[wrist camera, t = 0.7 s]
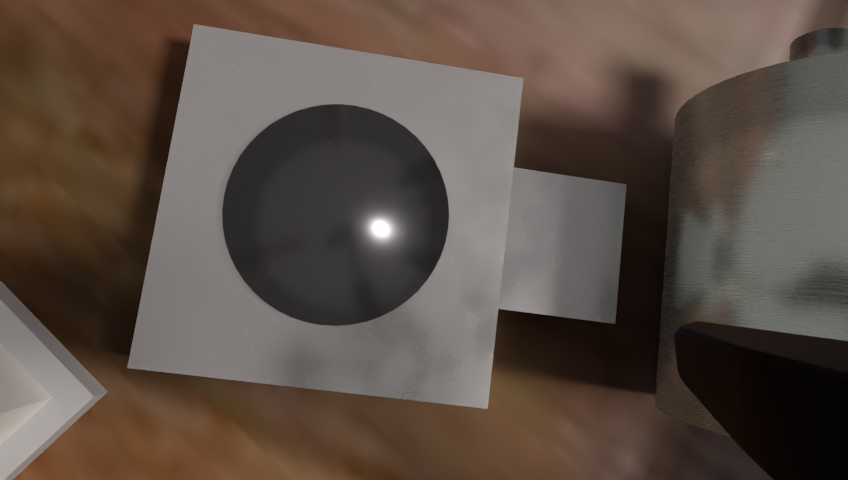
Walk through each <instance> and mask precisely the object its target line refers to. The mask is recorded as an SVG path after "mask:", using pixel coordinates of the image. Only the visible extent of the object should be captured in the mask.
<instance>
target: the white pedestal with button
mask: <svg viewBox="0 0 848 480" xmlns="http://www.w3.org/2000/svg"><path fill="white" fill-rule="evenodd" d="M107 392H108V391H107V390H106V389H105V388H104V387H103V386H102V385H101V384H100V383H99V382H98V381H97V380H96V379H95V378H94V377H93V376H92V375H91V374H90V373H89V372H88V371H87V370H86V369H85V368H84V367H83V366H82V365H81V363H80V362H79V361H78V360H77V359H76V358H75V357H74V356H73V355H72V354H71V353H70V352H69V351H68V350H67V349H66V348H65V347H64V346H63V345H62V344H61V343H60V342H59V341H58V340H57V339H56V338H55V336H54V335H53V334H52V333H51V332H50V331H49V330H48V329H47V328H46V327H45V326H44V325H43V324H42V323H41V322H40V321H39V320H38V319H37V318H36V317H35V316H34V315H33V314H32V313H31V312H30V311H29V309H28V308H27V307H26V306H25V305H24V304H23V303H22V302H21V301H20V300H19V299H18V298H17V297H16V296H15V295H14V294H13V293H12V292H11V291H10V290H9V289H8V288H7V287H6V286H5V285H4V284H3V283H2V282H0V480H13V479H14V478H15V477H16V476H17V475H18V474H19V473H20V472H21V471H23V470H24V469H25V468H26V467H27V466H28V465H29V464H30V463H31V462H32V461H33V460H34V459H36V458H37V457H38V456H39V455H40V454H41V453H42V452H43V451H44V450H45V449H46V448H47V447H49V446H50V445H51V444H52V443H53V442H54V441H55V440H56V439H57V438H58V437H59V436H60V435H62V434H63V433H64V432H65V431H66V430H67V429H68V428H69V427H70V426H71V425H72V424H73V423H75V422H76V421H77V420H78V419H79V418H80V417H81V416H82V415H83V414H84V413H85V412H86V411H88V410H89V409H90V408H91V407H92V406H93V405H94V404H95V403H96V402H97V401H98V400H99V399H101V398H102V397H103V396H104V395H105V394H106V393H107Z"/></svg>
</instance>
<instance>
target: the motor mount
mask: <svg viewBox="0 0 848 480" xmlns="http://www.w3.org/2000/svg"><path fill="white" fill-rule="evenodd" d="M522 87H523V78H519V77H513V76H507V75H500V74H494V73H488V72H482V71H476V70H470V69H464V68H458V67H452V66H446V65H439V64H433V63H427V62H421V61H415V60H409V59H403V58H397V57H391V56H385V55H379V54H372V53H366V52H360V51H354V50H348V49H342V48H336V47H330V46H324V45H318V44H311V43H305V42H299V41H293V40H287V39H281V38H275V37H269V36H263V35H257V34H250V33H244V32H238V31H232V30H226V29H220V28H214V27H208V26H202V25H196V24H194V27H193V32H192V37H191V42H190V47H189V52H188V58H187V63H186V68H185V73H184V78H183V83H182V88H181V94H180V99H179V104H178V109H177V114H176V119H175V125H174V130H173V135H172V140H171V145H170V150H169V155H168V161H167V166H166V171H165V176H164V181H163V186H162V192H161V197H160V202H159V207H158V212H157V217H156V222H155V228H154V233H153V238H152V243H151V248H150V253H149V259H148V264H147V269H146V274H145V279H144V284H143V289H142V295H141V300H140V305H139V310H138V315H137V320H136V326H135V331H134V336H133V341H132V346H131V351H130V356H129V362H128V367H127V368H132V369H141V370H150V371H158V372H167V373H176V374H185V375H194V376H203V377H211V378H220V379H229V380H238V381H247V382H256V383H265V384H273V385H282V386H291V387H300V388H309V389H318V390H326V391H335V392H344V393H353V394H362V395H371V396H380V397H388V398H397V399H406V400H415V401H424V402H433V403H441V404H450V405H459V406H468V407H477V408H486V409H488V400H489V391H490V382H491V372H492V363H493V354H494V345H495V336H496V326H497V317H498V309H504V310H511V311H519V312H527V313H535V314H543V315H550V316H558V317H566V318H574V319H581V320H589V321H597V322H605V323H613V324H615V321H616V309H617V296H618V284H619V272H620V259H621V247H622V234H623V222H624V210H625V197H626V185H627V184H621V183H614V182H608V181H601V180H594V179H588V178H581V177H574V176H568V175H561V174H554V173H548V172H541V171H534V170H528V169H521V168H514V161H515V152H516V142H517V133H518V124H519V115H520V106H521V96H522ZM696 321H702V322H709V323H717V324H724V325H732V326H739V327H747V328H755V329H762V330H770V331H777V332H785V333H792V334H800V335H807V336H815V337H822V338H830V339H837V340H845V341H848V29H843V28H828V29H822V30H817V31H813V32H810V33H807V34H805V35H802V36H800V37H798V38H797V39H795V40H794V41H793V42H792V43H791V45H790V56H789V61H788V62H784V63H780V64H776V65H772V66H768V67H764V68H760V69H757V70H754V71H751V72H747V73H744V74H741V75H738V76H736V77H733V78H730V79H727V80H725V81H722V82H720V83H718V84H716V85H714V86H711V87H709V88H707V89H705V90H704V91H702V92H700V93H698V94H697V95H695V96H694V97H692V98H691V99H690V100H688V101H687V102H686V103H685V104H684V105H683V106H682V107H681V108H680V109H679V111H678V112H677V114H676V117H675V123H674V138H673V152H672V166H671V181H670V195H669V209H668V223H667V238H666V252H665V266H664V281H663V295H662V309H661V324H660V338H659V352H658V366H657V381H656V395H655V406H656V407H657V408H658V409H659V410H661V411H662V412H664V413H666V414H668V415H670V416H672V417H674V418H677V419H679V420H682V421H684V422H687V423H690V424H692V425H695V426H698V427H701V428H704V429H707V430H710V431H713V432H717V433H720V434H723V435H726V436H730V435H729V434H728V433H727V432H726V431H725V430H724V429H723V427H722V426H721V425H720V424H719V423H718V422H717V421H716V419H715V418H714V417H713V416H712V415H711V414H710V413H709V411H708V410H707V409H706V408H705V407H704V406H703V405H702V403H701V402H700V401H699V400H698V399H697V398H696V397H695V395H694V394H693V393H692V392H691V391H690V390H689V389H688V387H687V386H686V385H685V384H684V383H683V381H682V380H681V378H680V376H679V373H678V370H677V363H676V354H675V345H674V331H675V330H676V328H677V327H679V326H682V325H685V324H689V323H692V322H696ZM730 437H731V436H730Z"/></svg>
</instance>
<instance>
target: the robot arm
mask: <svg viewBox="0 0 848 480" xmlns="http://www.w3.org/2000/svg"><path fill="white" fill-rule="evenodd" d="M674 345H675V354H676V363H677V370H678V373H679V376H680V378H681V380H682V381H683V383H684V384H685V385H686V386H687V387H688V389H689V390H690V391H691V392H692V393H693V394H694V395H695V397H696V398H697V399H698V400H699V401H700V402H701V403H702V405H703V406H704V407H705V408H706V409H707V410H708V411H709V413H710V414H711V415H712V416H713V417H714V418H715V419H716V421H717V422H718V423H719V424H720V425H721V426H722V427H723V429H724V430H725V431H726V432H727V433H728V434H729V435H730V436H731V438H732V439H733V440H734V441H735V442H736V443H737V444H738V445H739V446H740V447H741V449H742V450H743V451H744V452H745V453H746V454H747V455H748V456H749V457H750V458H751V459H752V460H753V461H754V462H755V463H756V464H757V465H758V466H759V467H761V468H762V469H763V470H764V471H765V472H766V473H767V474H768V475H769V476H770V477H771V478H772V479H773V480H848V341H845V340H837V339H830V338H822V337H815V336H807V335H800V334H792V333H785V332H777V331H770V330H762V329H755V328H747V327H739V326H732V325H724V324H717V323H709V322H702V321H696V322H692V323H689V324H685V325H682V326H679V327H677V328H676V330H675V331H674Z"/></svg>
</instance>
